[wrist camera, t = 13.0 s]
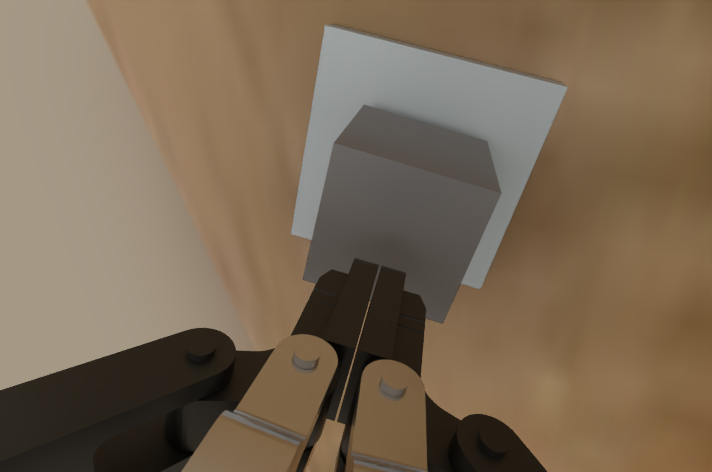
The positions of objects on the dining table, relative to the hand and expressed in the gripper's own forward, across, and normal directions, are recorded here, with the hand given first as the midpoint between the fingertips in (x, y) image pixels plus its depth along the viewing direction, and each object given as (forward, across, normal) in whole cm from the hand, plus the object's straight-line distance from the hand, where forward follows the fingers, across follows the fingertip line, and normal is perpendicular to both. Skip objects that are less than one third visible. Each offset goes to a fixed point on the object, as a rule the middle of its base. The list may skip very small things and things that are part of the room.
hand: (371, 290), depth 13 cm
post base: (+13, 0, 0) cm, 13 cm away
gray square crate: (+9, 0, 0) cm, 9 cm away
